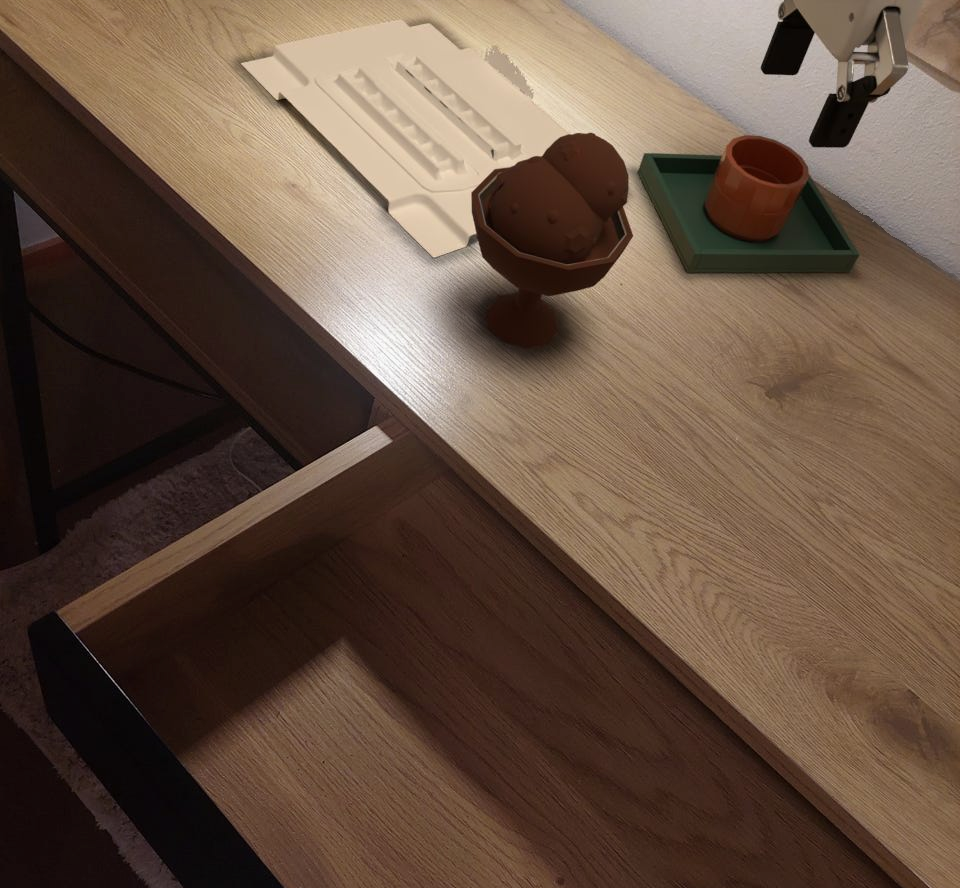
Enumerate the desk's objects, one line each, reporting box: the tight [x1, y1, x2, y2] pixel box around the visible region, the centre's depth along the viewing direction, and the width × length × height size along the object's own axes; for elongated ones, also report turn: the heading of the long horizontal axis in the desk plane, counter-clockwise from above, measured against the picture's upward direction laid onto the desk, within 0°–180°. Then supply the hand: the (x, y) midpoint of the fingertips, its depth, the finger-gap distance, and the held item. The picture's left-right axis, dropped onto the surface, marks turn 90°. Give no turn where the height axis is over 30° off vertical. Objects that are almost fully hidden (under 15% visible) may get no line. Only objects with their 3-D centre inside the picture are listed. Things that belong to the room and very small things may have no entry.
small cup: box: [705, 134, 810, 241], centre depth 89 cm, size 7×7×6 cm
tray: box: [240, 18, 571, 259], centre depth 90 cm, size 20×28×4 cm
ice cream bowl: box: [471, 132, 634, 349], centre depth 73 cm, size 11×11×15 cm
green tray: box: [637, 152, 861, 274], centre depth 91 cm, size 15×13×2 cm
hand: (801, 108), depth 83 cm, fingers open, 9 cm apart
